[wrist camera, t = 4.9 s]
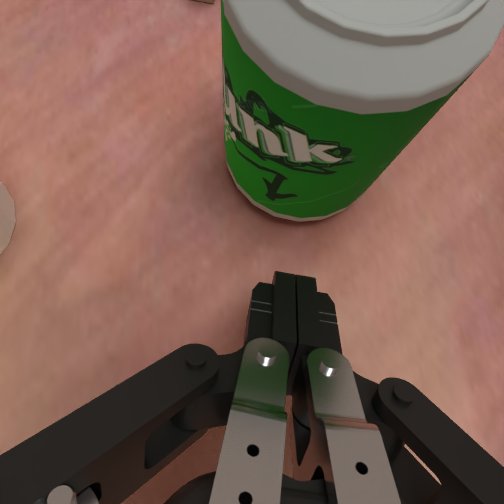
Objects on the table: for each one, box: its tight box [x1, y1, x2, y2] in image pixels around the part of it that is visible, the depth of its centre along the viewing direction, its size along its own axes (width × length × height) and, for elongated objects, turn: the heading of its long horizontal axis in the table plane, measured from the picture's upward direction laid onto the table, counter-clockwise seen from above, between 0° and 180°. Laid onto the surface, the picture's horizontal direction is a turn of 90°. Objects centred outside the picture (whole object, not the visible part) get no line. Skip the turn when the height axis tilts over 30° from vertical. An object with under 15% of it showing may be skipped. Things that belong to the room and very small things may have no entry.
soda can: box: [221, 0, 504, 222], centre depth 15 cm, size 8×8×12 cm
